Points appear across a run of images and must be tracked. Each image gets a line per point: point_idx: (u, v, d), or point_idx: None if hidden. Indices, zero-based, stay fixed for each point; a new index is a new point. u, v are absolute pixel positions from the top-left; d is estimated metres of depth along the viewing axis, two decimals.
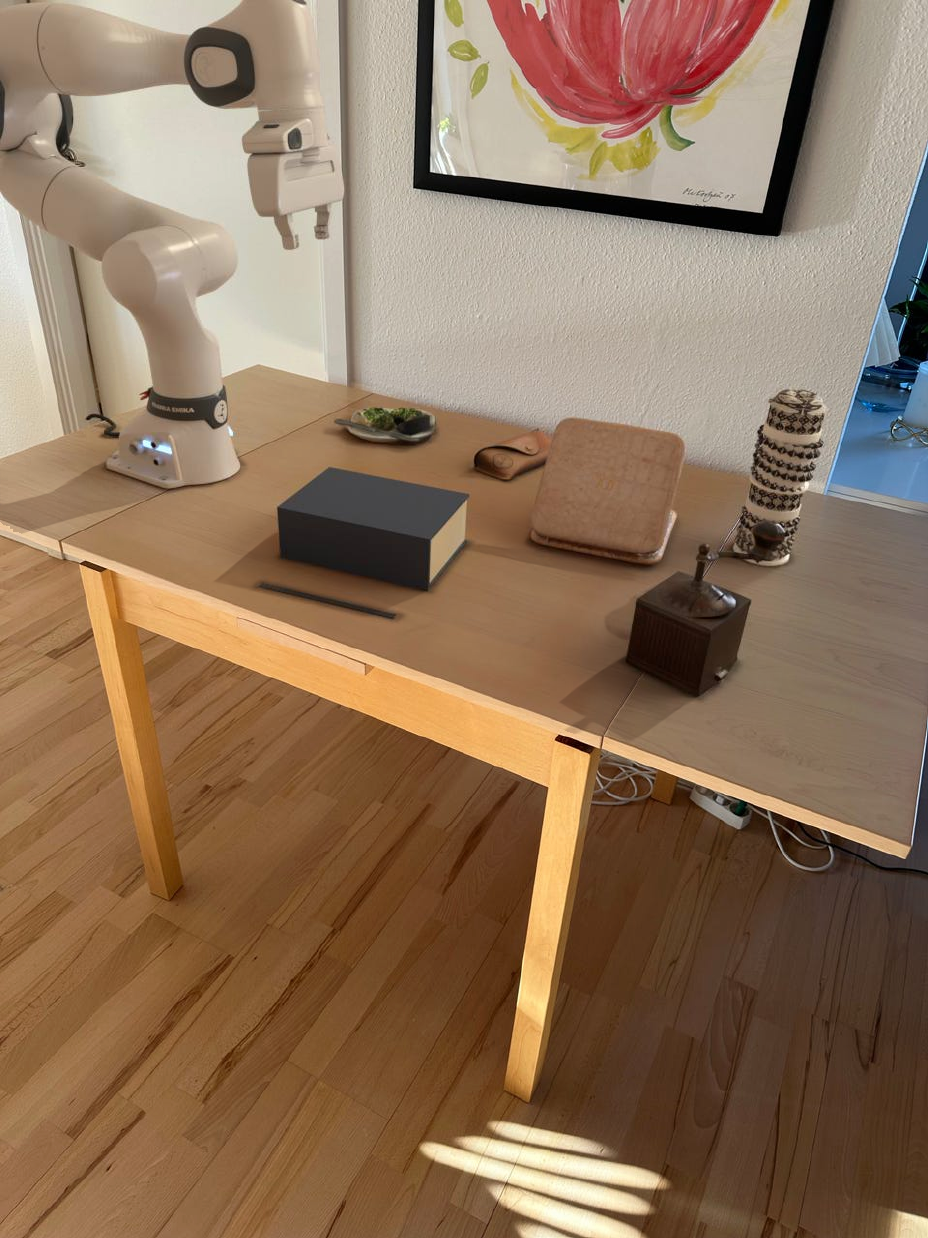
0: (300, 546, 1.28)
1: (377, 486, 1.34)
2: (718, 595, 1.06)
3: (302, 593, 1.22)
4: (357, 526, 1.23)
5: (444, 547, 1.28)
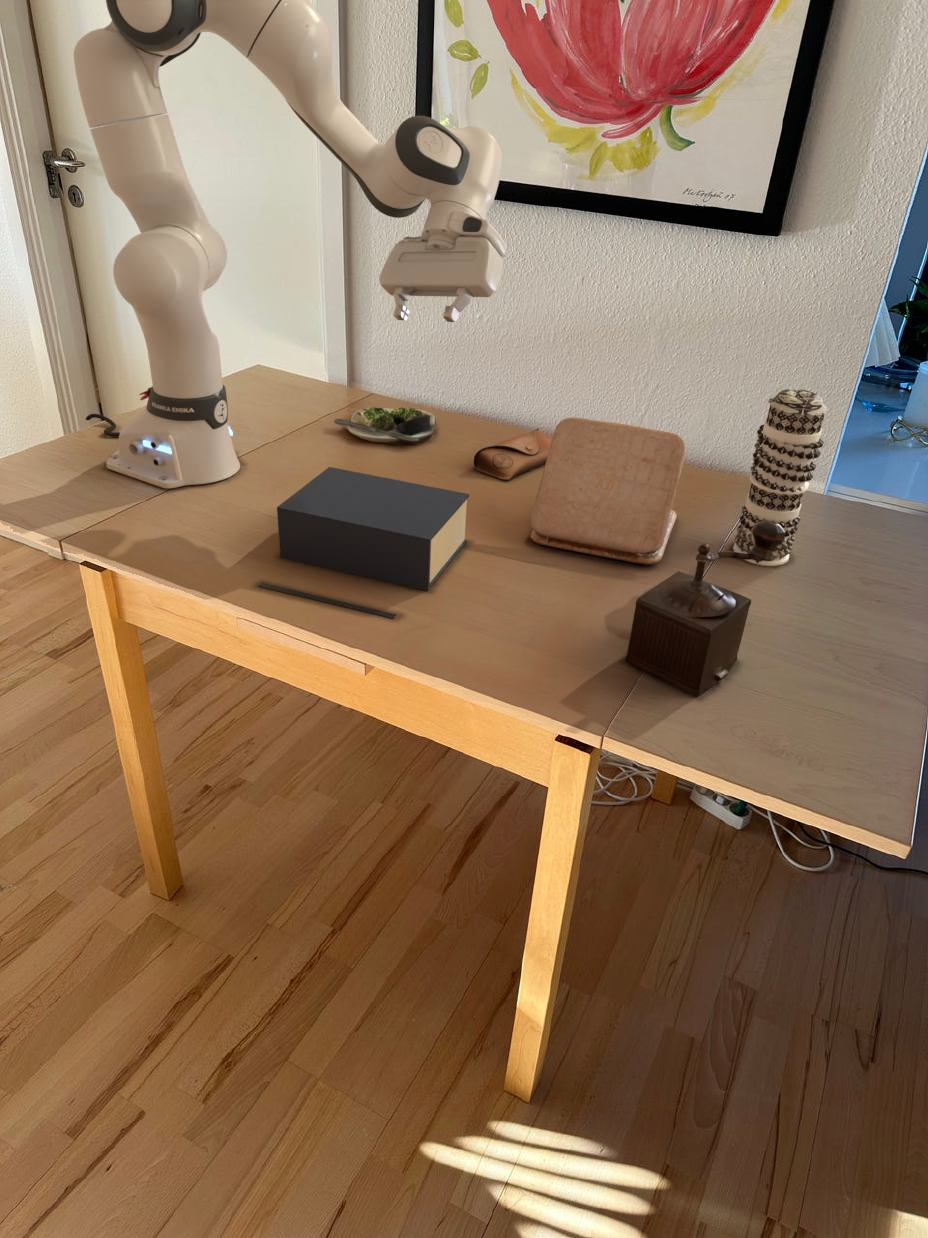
0: (300, 546, 1.28)
1: (377, 486, 1.34)
2: (718, 595, 1.06)
3: (302, 593, 1.22)
4: (357, 526, 1.23)
5: (444, 547, 1.28)
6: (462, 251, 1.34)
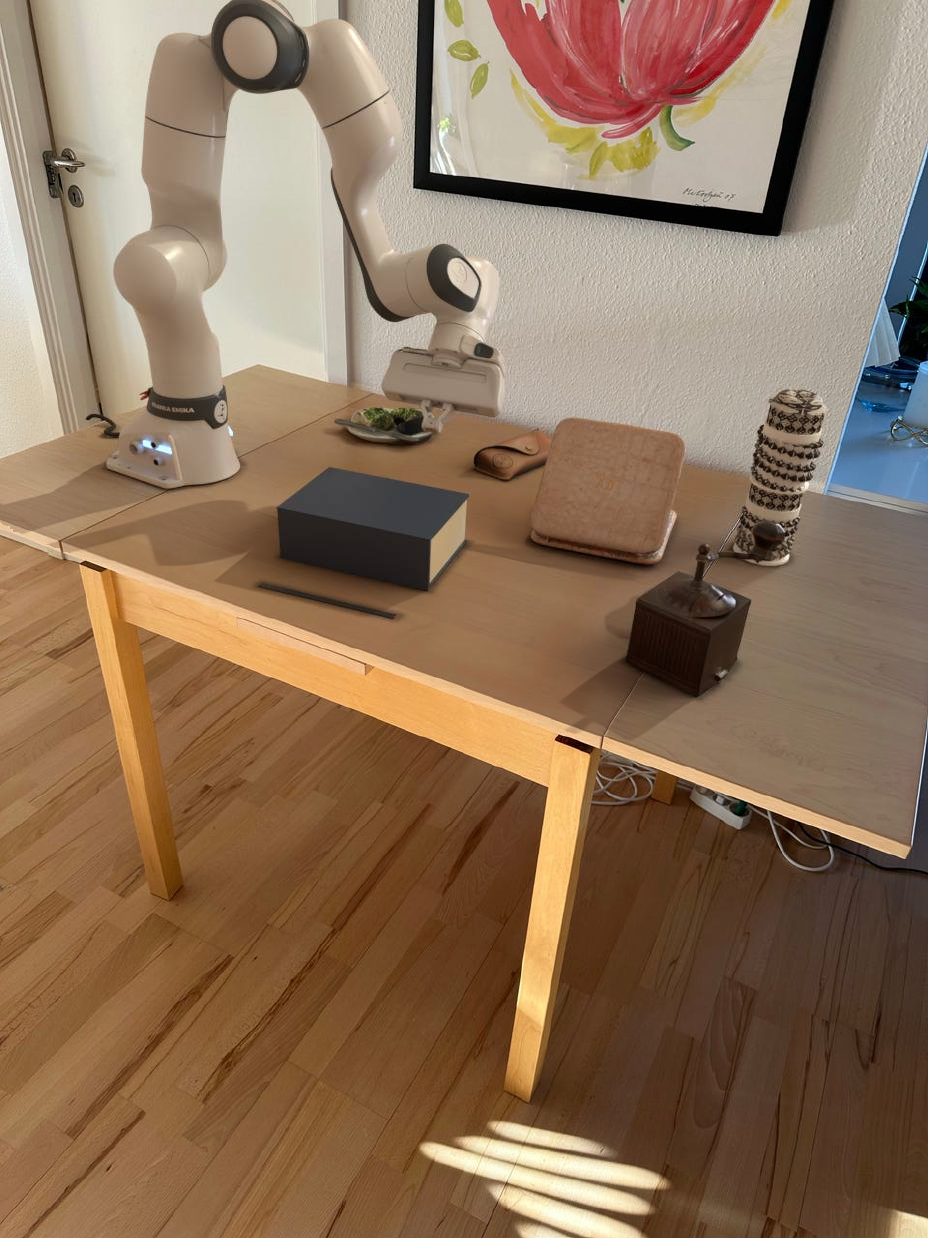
0: (300, 546, 1.28)
1: (377, 486, 1.34)
2: (718, 595, 1.06)
3: (302, 593, 1.22)
4: (357, 526, 1.23)
5: (444, 547, 1.28)
6: (471, 372, 1.44)
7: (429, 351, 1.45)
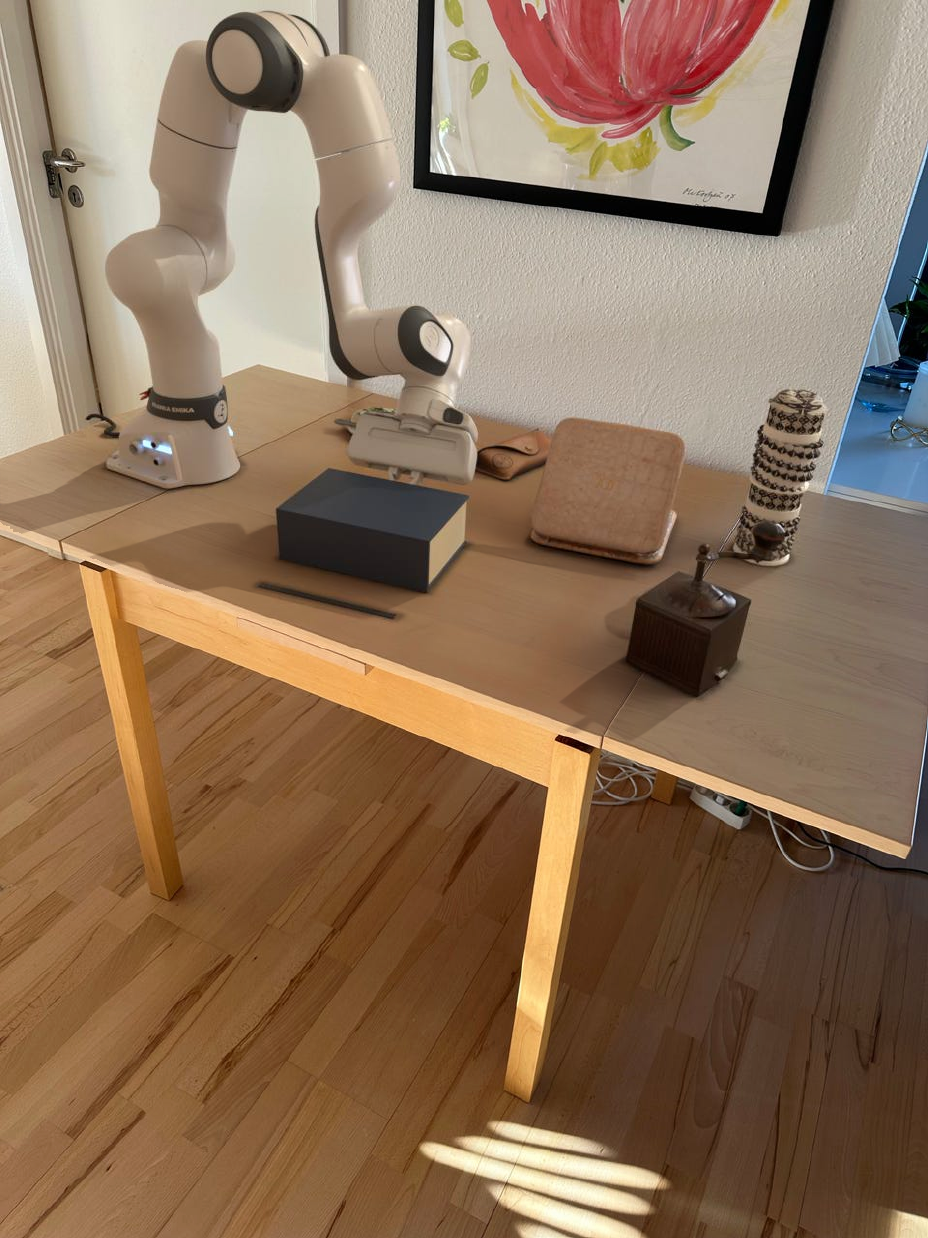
0: (299, 547, 1.28)
1: (376, 487, 1.33)
2: (718, 595, 1.06)
3: (302, 593, 1.22)
4: (356, 528, 1.23)
5: (444, 548, 1.28)
6: (440, 438, 1.37)
7: (396, 416, 1.38)
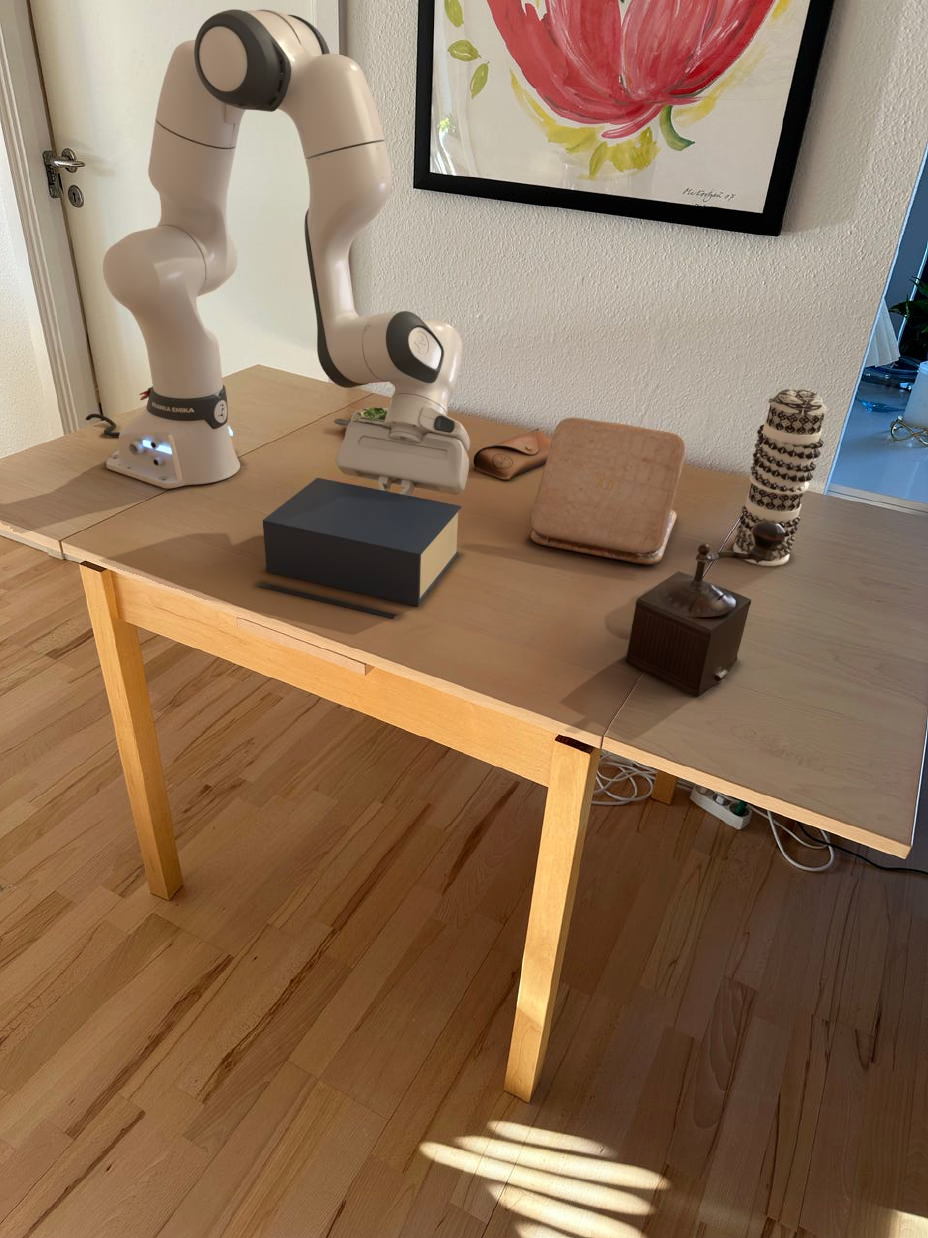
0: (286, 560, 1.25)
1: (366, 498, 1.30)
2: (718, 595, 1.06)
3: (302, 593, 1.22)
4: (345, 540, 1.19)
5: (435, 560, 1.25)
6: (431, 447, 1.34)
7: (386, 424, 1.35)
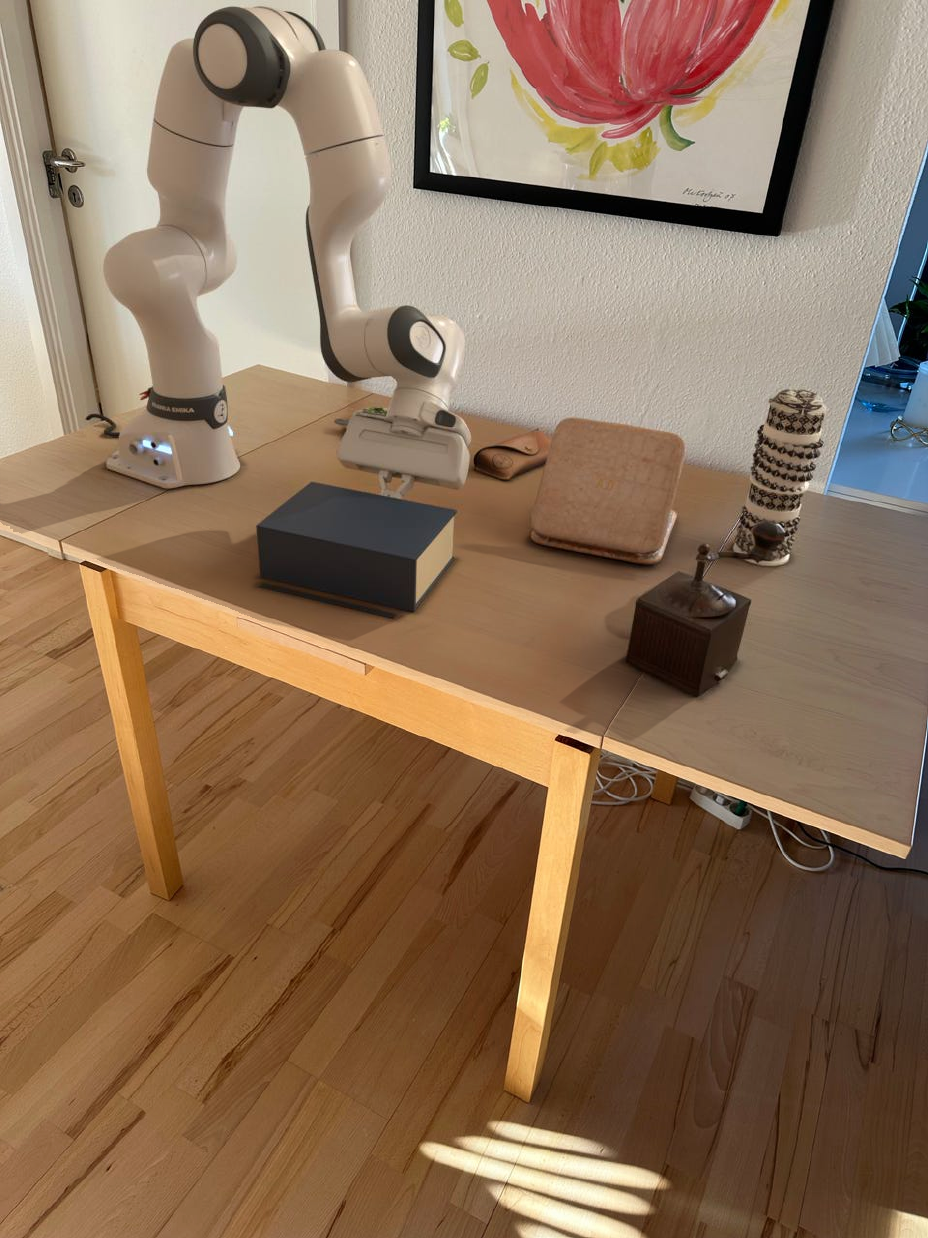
0: (281, 565, 1.23)
1: (361, 502, 1.29)
2: (718, 595, 1.06)
3: (302, 593, 1.22)
4: (340, 545, 1.18)
5: (431, 565, 1.23)
6: (432, 441, 1.34)
7: (387, 418, 1.35)
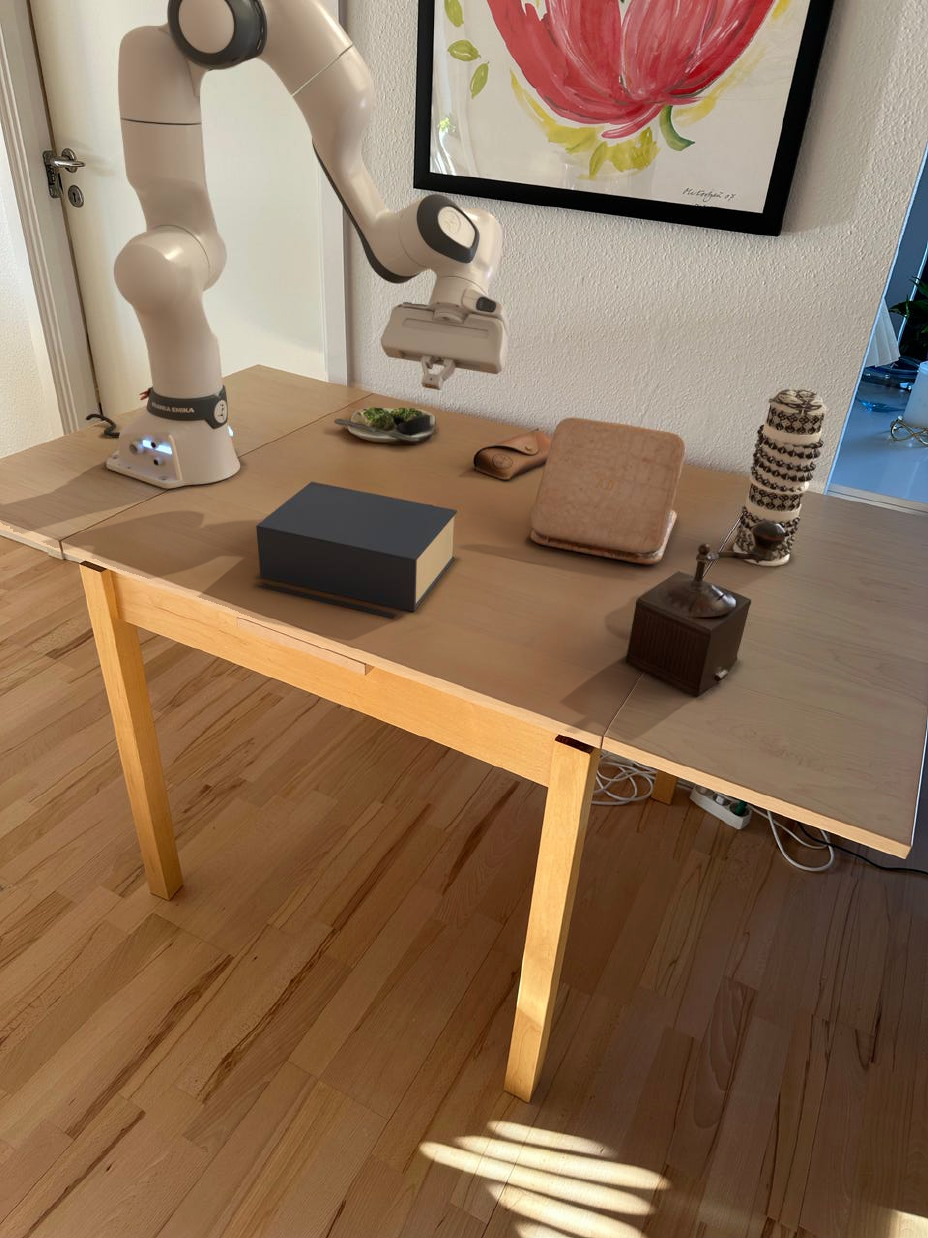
0: (281, 565, 1.23)
1: (361, 502, 1.29)
2: (718, 595, 1.06)
3: (302, 593, 1.22)
4: (340, 545, 1.18)
5: (431, 565, 1.23)
6: (473, 327, 1.40)
7: (430, 305, 1.41)
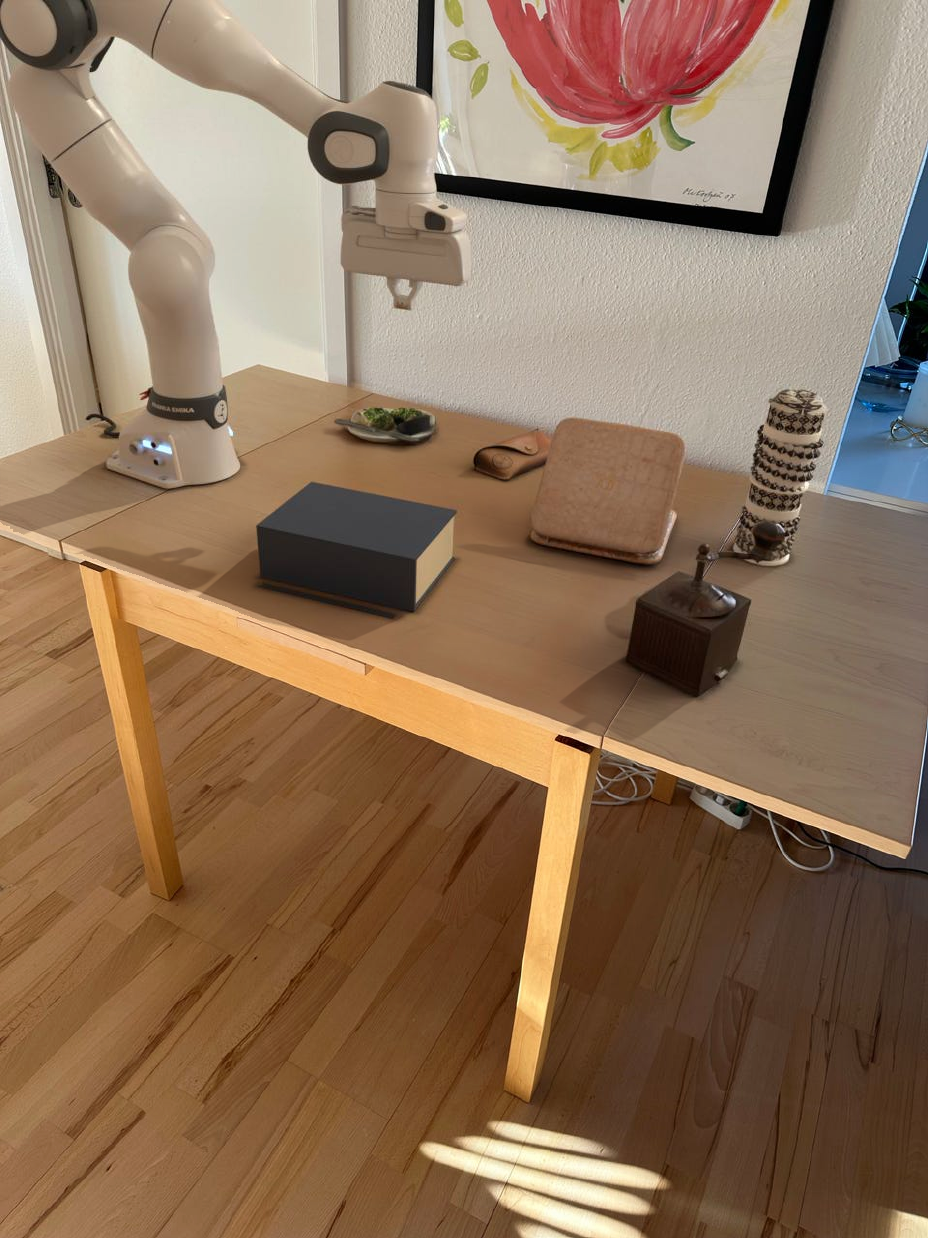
0: (281, 565, 1.23)
1: (361, 502, 1.29)
2: (718, 595, 1.06)
3: (302, 593, 1.22)
4: (340, 545, 1.18)
5: (431, 565, 1.23)
6: (428, 243, 1.31)
7: (378, 223, 1.31)
